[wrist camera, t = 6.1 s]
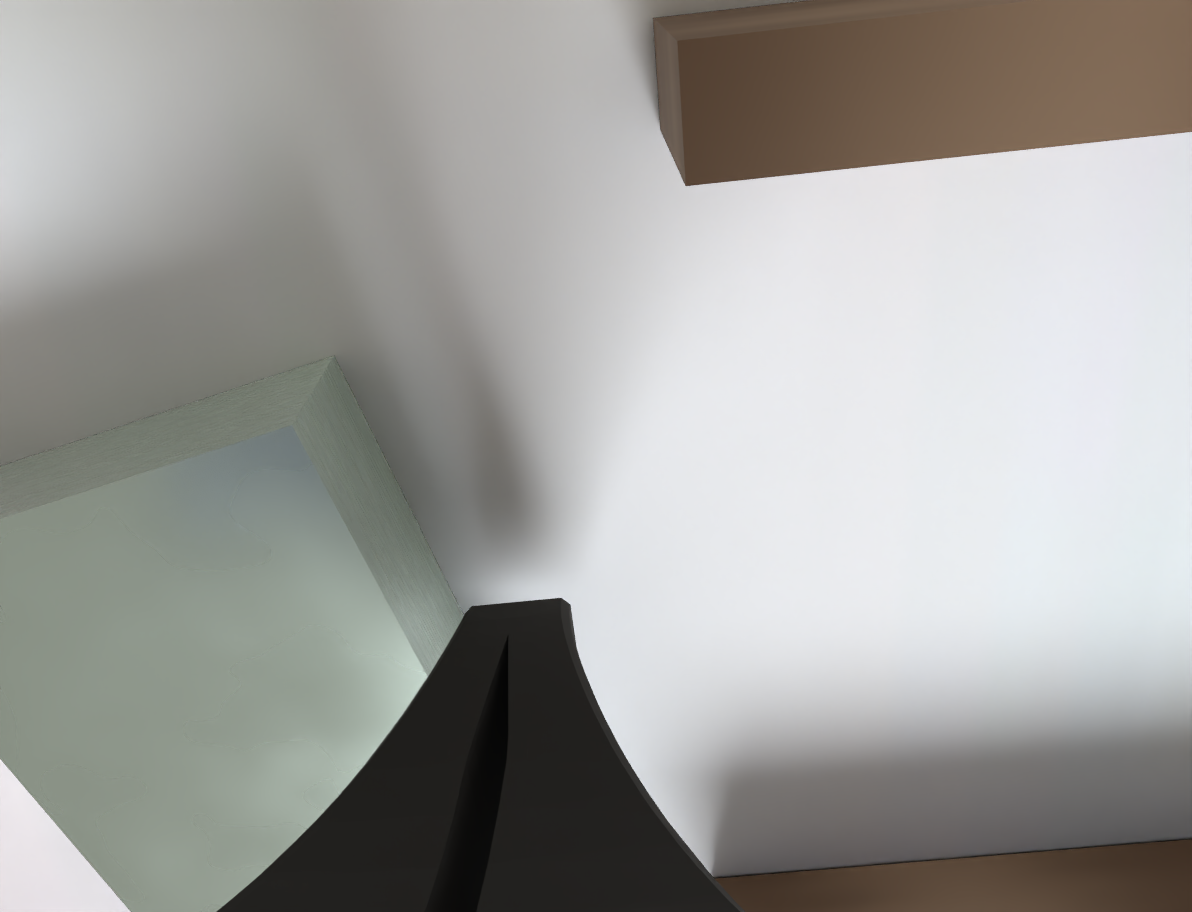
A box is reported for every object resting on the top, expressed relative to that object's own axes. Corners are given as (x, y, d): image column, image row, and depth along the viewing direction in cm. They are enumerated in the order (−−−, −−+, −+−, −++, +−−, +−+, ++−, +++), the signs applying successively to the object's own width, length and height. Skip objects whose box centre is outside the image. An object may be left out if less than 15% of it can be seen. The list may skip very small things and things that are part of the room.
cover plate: (341, 343, 13) (291, 424, 11) (600, 870, 18) (602, 1001, 16) (-41, 470, 14) (-161, 570, 12) (307, 940, 19) (269, 1075, 16)
